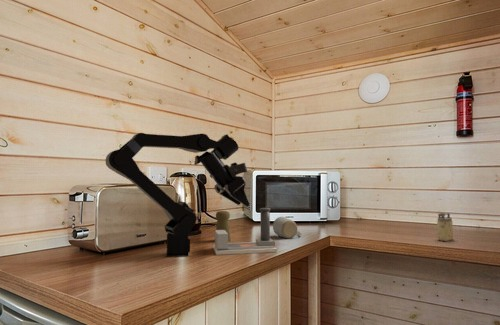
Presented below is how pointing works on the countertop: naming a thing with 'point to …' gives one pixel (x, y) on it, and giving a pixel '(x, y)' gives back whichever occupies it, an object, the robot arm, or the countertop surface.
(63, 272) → the countertop surface
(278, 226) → the ceramic mug
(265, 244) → the press handle
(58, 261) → the countertop surface
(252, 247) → the press base
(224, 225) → the cork
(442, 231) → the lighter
